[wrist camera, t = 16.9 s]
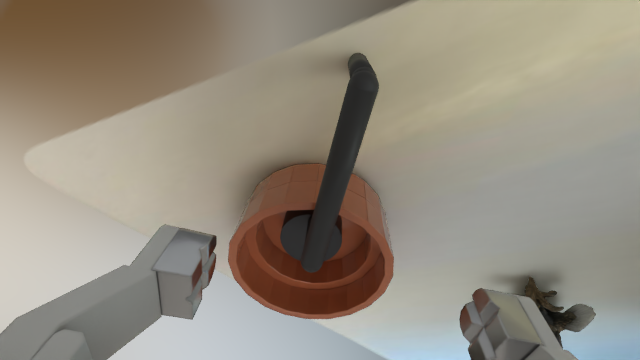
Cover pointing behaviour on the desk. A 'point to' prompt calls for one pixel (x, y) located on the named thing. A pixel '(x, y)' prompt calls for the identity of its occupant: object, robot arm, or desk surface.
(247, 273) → the flower pot
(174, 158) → the desk surface
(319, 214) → the door handle
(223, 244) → the desk surface
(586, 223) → the desk surface
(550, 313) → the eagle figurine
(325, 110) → the desk surface
